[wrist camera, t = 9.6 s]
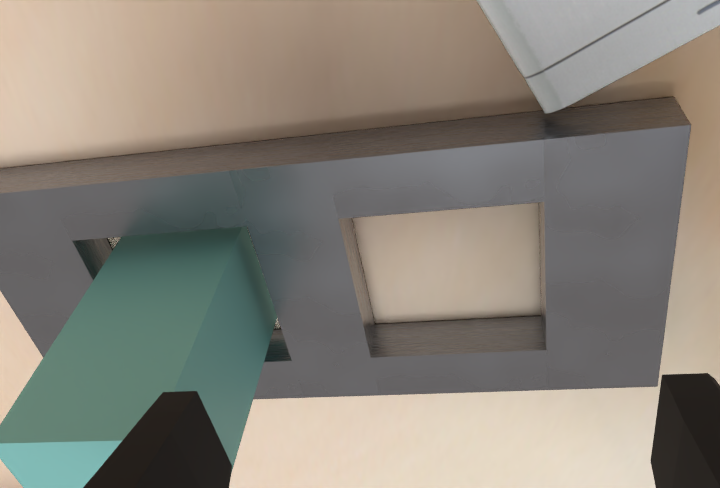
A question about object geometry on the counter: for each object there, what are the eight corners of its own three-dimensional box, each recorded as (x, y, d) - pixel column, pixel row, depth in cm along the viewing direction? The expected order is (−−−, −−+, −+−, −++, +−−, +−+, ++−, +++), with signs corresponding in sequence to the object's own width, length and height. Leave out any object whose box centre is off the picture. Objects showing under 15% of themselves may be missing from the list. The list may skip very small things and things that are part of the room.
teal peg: (244, 220, 21) (153, 439, 14) (277, 316, 23) (211, 541, 17) (124, 231, 21) (-12, 443, 15) (168, 322, 24) (65, 540, 17)
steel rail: (673, 96, 17) (691, 124, 16) (646, 351, 22) (657, 386, 21) (-29, 171, 21) (-59, 199, 19) (91, 373, 26) (73, 404, 25)
